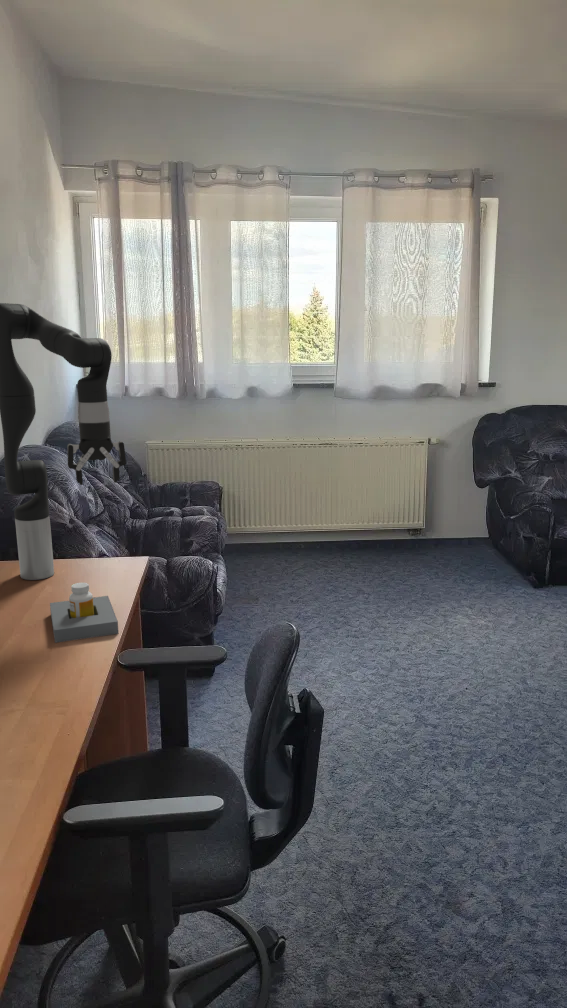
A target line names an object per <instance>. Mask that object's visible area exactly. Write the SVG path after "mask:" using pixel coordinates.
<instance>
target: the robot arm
mask: <svg viewBox="0 0 567 1008" xmlns="http://www.w3.org/2000/svg"><path fill="white" fill-rule="evenodd" d="M22 339H31V340H35V341H39V342H40V344H41V345H42V347H43V348H44V349H46V350H47V351H49V352H50V353H53V354H54V355H55V354H56V355H58V356H60V357H62V358H63V359H64V360H65V361H66V362H67V363H68V364H69V365H71V366H73V367H77V368H80V369H82V368H83V369H84V368H89V373H88V374H87V375H86V376H85V377H82V378H80V379H78V381H77V384H76V385H77V400H78V401H77V402H78V404H77V406H78V407H77V408H78V409H77V414H78V415H77V419H78V427H79V428H78V431H79V443H78V444H72V443H68V444H67V447H66V448H67V466H68V469H70V470H71V469H72V470H74V471H75V479H76V483H77V484H78V483H79V485H80V486H83V484H84V481H83V480H84V479H83V470H82V468H83V467H84V466H85V464H87V461H88V460H89V461H93V462H94V461H96V460H98V461H104V460H105V459H107V460H108V461H109V463H110V464H111V465H112V466H113V467H112V476H113V477H112V479H113V483H115V484H116V483H117V484H118V481H120V467H122V466H126V464H127V459H126V458H127V457H126V451H125V450H126V449H125V443H124V442H123V441H121V440H119V441H117V442H116V441H115V442H113V441H112V438H111V434H112V433H111V419H110V418H111V417H110V408H109V403H108V390H107V385H108V384H107V383H108V380H109V375H110V369H111V364H112V359H113V358H112V356H113V355H112V349H111V347H110V345H109V343H108V342H107V341H106V340H105V339H103V338H101V337H95V338H93V337H88V338H85V337H84V338H83V337H82V336H81V335H80V334H79V333H77V332H76V331H74V330H71V329H69V328H66V327H64V326H62V325H59V324H57V323H54V322H52V321H50V320H49V319H47V318H45V317H44V316H42V315H40V314H39V313H37V312H36V311H35V310H33V309H32V308H30V307H29V306H28V305H25V304H21V303H10V302H9V303H8V302H7V303H6V302H4V303H3V302H0V421H1V428H2V429H1V430H2V437H3V453H4V455H3V457H4V461H3V462H4V479H5V486H6V490H7V492H8V493H9V495H11V496H18V495H19V496H21V495H30V494H34V496H33V497H32V498H31V499H29V500H28V501H27V502H24V503H22V504H20V505H18V506H17V507H15V509H14V523H15V532H16V534H15V535H16V543H17V553H18V562H19V563H18V564H19V573H20V574H19V575H20V576H19V577H20V578H21V579H22V580H25V581H38V580H44V579H48V578H50V577H52V576H54V574H55V568H54V567H55V566H54V556H53V555H54V554H53V544H52V542H53V541H52V531H51V530H52V529H51V520H50V519H51V518H50V506H49V490H48V489H49V486H48V484H49V483H48V482H49V481H48V479H49V478H48V470H47V466H46V463H45V462H44V461H43V460H42V459H34V460H33V459H31V460H20V461H18V454H19V449H20V446H21V443H22V441H23V438H24V437H25V435H26V433H27V432H28V430H29V428H30V426H31V424H32V422H33V420H34V419H35V416H36V413H37V411H36V410H37V409H36V400H35V398H36V397H35V390H34V387H33V385H32V382H31V381H30V379H29V377H28V376H27V374H26V373H25V372H24V370H23V369H22V367H21V366H20V364H19V362H18V361H17V359H16V356H15V353H14V349H13V348H14V347H13V344H12V343H13V342H12V340H22ZM113 448H115V450H116V451H117V452H118V454H119V455H118V456H119V460H117V461H116V459H115V458H113V456H112V455H111V454H110V453H111V452H112V450H113ZM78 450H79V451H80V452H81V453H82V455H81V456H80V458H79V460H78V461H77V463H74V454H76V453H77V451H78Z"/></svg>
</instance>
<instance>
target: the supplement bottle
mask: <svg viewBox="0 0 567 1008" xmlns="http://www.w3.org/2000/svg"><path fill="white" fill-rule="evenodd" d="M70 587H71V594H70V595H69V598H68V601H69V602H70V615H71V618H79V617H86V616H94V607H93V597H94V596H93V593H92V592H91V591H90V584H89V583H87V582H76V583H74V584H72V585H71V586H70Z"/></svg>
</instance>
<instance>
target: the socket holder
mask: <svg viewBox="0 0 567 1008" xmlns="http://www.w3.org/2000/svg"><path fill="white" fill-rule="evenodd" d="M49 606H50V607H49V608H50V617H51V618H50V619H51V625H52V632H53V637H54V638H53V639H54V644H55V643H56V644H57V643H63V642H64V643H65V642H69V641H77V640H84V639H90V638H97V637H105V636H111V635H117V634H119V621H118V619H117V616H116V613H115V611H114V608H113V604H112V602H111V600H110V598H109V595H103V596H101V595H100V596H96V597H94V596H93V607H94V616H86V617H79V618H71V615H70V602H69V600H64V601H55V602H49Z"/></svg>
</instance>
